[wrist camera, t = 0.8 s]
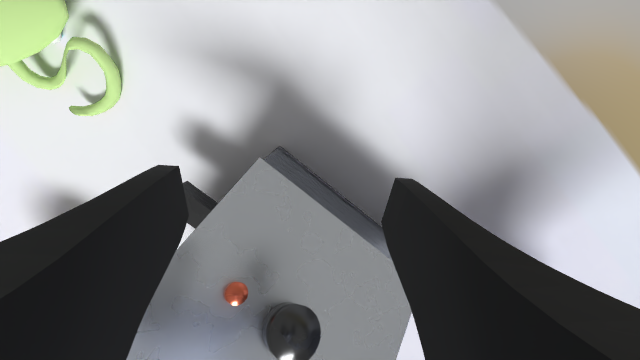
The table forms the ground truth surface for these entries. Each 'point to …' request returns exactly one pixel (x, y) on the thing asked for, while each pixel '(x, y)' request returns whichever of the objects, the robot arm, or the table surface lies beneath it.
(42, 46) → the figurine
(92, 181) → the table surface
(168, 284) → the cooker lid
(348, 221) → the grey hinged lid box
